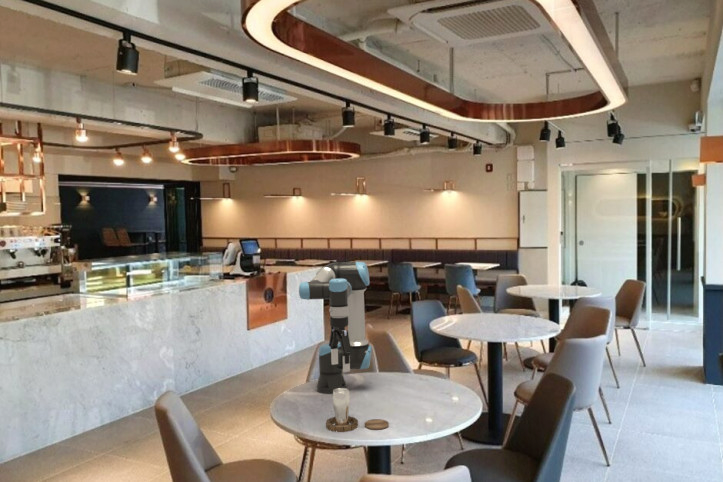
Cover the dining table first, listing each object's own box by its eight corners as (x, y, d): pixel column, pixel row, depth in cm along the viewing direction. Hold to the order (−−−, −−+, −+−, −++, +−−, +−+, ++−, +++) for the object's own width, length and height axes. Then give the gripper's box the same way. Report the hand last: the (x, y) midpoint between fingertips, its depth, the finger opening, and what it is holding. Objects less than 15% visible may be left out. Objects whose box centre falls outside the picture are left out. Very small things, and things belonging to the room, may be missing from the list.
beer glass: (333, 423, 242) (332, 388, 241) (349, 422, 242) (348, 387, 242) (333, 429, 235) (332, 393, 234) (350, 428, 235) (349, 392, 235)
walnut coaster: (360, 423, 241) (360, 421, 241) (382, 420, 244) (382, 417, 244) (370, 431, 231) (370, 429, 231) (392, 427, 235) (392, 425, 235)
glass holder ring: (322, 423, 242) (321, 419, 242) (350, 418, 247) (350, 414, 247) (332, 433, 230) (332, 428, 230) (362, 428, 235) (362, 423, 235)
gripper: (320, 313, 247) (322, 362, 248) (341, 321, 224) (342, 375, 225) (337, 311, 250) (338, 360, 251) (359, 319, 227) (360, 373, 228)
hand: (340, 367), depth 238 cm, fingers open, 13 cm apart
